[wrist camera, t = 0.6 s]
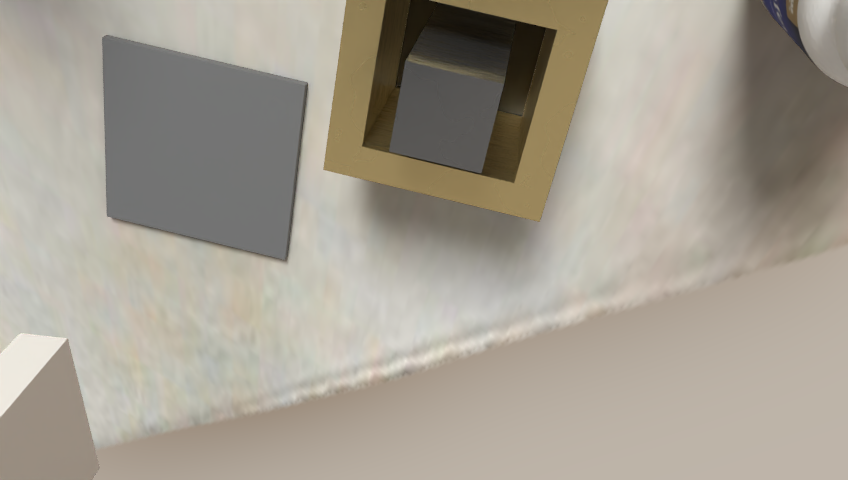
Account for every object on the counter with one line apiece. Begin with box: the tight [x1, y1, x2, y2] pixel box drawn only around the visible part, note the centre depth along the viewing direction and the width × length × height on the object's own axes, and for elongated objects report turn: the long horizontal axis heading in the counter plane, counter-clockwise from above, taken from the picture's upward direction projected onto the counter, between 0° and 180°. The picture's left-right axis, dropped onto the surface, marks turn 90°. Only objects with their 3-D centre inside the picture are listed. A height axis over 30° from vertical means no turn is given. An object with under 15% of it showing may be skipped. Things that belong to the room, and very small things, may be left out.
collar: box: [323, 0, 608, 222], centre depth 29 cm, size 8×8×6 cm
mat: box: [102, 35, 308, 260], centre depth 36 cm, size 9×9×1 cm
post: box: [389, 2, 516, 173], centre depth 28 cm, size 3×3×9 cm
